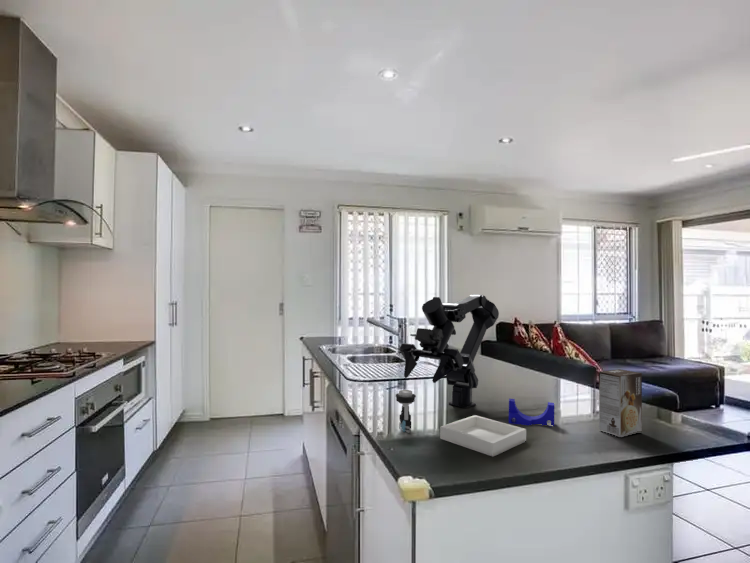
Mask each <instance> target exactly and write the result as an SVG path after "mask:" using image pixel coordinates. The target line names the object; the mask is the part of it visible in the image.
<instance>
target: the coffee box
mask: <svg viewBox="0 0 750 563" xmlns="http://www.w3.org/2000/svg"><path fill="white" fill-rule="evenodd" d="M598 374H599V375H598V379H599V380H598V430H599V429H600V430H603V431H607V432H610V433H614V434H617V435H625V434H629V433H633V432H637V431H642V432H643V429H642V428H643V422H642V421H643V415H642V414H643V411H642V410H643V408H642V407H643V395H642V394H643V391H642V390H643V388H642V387H643V378H642V376H643V373H642V372H637V371H632V370H625V369H618V368H617V369H611V370H603V371H599V372H598Z"/></svg>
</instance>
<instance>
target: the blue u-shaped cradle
mask: <svg viewBox="0 0 750 563" xmlns="http://www.w3.org/2000/svg"><path fill="white" fill-rule="evenodd" d="M547 422H551V425H553V426H554V427H555V402H550V401H548V402H547V406H546V409H545V410H544V411H543V413H541V414H539V415H535V416H531V415H527V414H526V413H525V414H524V413H523V412H522V411H520V410H519V408H518V406H517V405H516V399H515V398H508V424H511V425H520V424H521V425H523V426H529V425H531V426H532V425H535V424H542V425H541V426H543V425H547Z"/></svg>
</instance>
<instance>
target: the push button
mask: <svg viewBox="0 0 750 563" xmlns="http://www.w3.org/2000/svg"><path fill="white" fill-rule="evenodd" d="M395 397H396V399H395V400H396V402H397V403H399V404H400V405H401V410H400V414H399V416H398V418H399V424H398V427H399V430H401V431H402V432H403V433H410V432H411V429H412V414H410V406H409V405H411V404H413V403H415V400H416V399H415V398H416V397H417V396H416V394H414V393H413V391H412V390H410V389H409V390H408V389H400V390H399V391H398V392H397V393H396V394H395Z"/></svg>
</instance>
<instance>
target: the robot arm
mask: <svg viewBox="0 0 750 563" xmlns="http://www.w3.org/2000/svg"><path fill="white" fill-rule="evenodd" d="M421 311H422V312H423V314H424V316H425V317H426V320H427V321H428V323H429V325H431V326H432V327H433V328H432V329H430V328H421V327H418V328H417V329H416V332H415V336H414V339H415V341H418V342H419V347H420V348H422V349H417V347H416V345H415V344H413V343H406V342H405V343H401V345H400V347H399V349H398V350H399V352H400V353H401V355H402V357H403V358H404V361H405V362H404V373H403V377H404V378H405V379H408V378H409V376H411V373H412V372H413V370H414V369H415V368H416V366H417V365H418V363H417V362H419V360H420V358H426V359H430V360H436V361H437V360H438V361H439V364H438V366H437V368H436V370H435V373H434V375H433V377H432V383H433V384H436V383H437V382H438V381H440V380H441V379H443V378H444V377H445V376H446V377H445V378H446V383H447V385H449V386H452V391H451V393H452V394H451V401H449V402H448V404H449V405H451V406H455V407H459V408H463V409H466V408H470V407H473V406H476V404H477V403H476V402H473V389H477V387H478V385H479V378H478V376H477V375H476V369H475V364H474V360H475V358H476V356H477V353H478V351H479V349H480V346H481V345H482V341H483V339H484V337H485V335H486V332H487V330H488V329H490V328H492V327H493V326H494V325H495V324H496V322H497V320H498V319H499V314H500V312H499V309H498V308H497V306H496V305H495V303H494V302H492V301H491V300H489V299H488V298H487V296H485V295H484V294H470V295H469V296H467V297H465V298H463V299H461V300H459V301H457V302H442V300H441V297H439V296H433V297H432V299H429V300H428V301H426V302H425V303H423V304H422V307H421ZM468 313H470V314H471V317H472V321H473V323H472V326H471V328H470V330H469V332H468V335H467V337H466V338H465V341H464V343H463V346H462V347H461V350H460V351H459V349H457V348H449V347H450V346H449V343H448V342H449V341H450V338H451V336H455V335H457V332H456V329H455V325H454V323H461V322H462V321H464V320H465V319H466V316H467V314H468Z"/></svg>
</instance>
